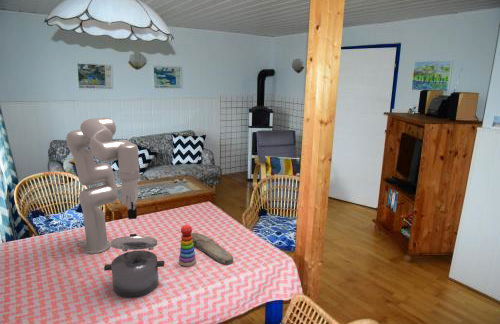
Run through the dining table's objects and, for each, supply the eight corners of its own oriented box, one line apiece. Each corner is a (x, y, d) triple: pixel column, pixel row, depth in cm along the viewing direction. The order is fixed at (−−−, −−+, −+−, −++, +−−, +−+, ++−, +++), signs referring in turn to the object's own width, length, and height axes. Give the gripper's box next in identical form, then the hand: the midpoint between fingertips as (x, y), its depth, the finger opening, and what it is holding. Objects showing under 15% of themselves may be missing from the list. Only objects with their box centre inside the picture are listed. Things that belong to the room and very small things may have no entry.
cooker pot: (101, 300, 137) (98, 273, 134) (112, 273, 156) (110, 248, 153) (163, 295, 141) (162, 269, 138) (166, 269, 160) (165, 245, 157)
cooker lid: (106, 241, 136) (107, 232, 137) (116, 250, 152) (116, 242, 154) (154, 239, 139) (154, 230, 140) (159, 248, 155) (159, 240, 156)
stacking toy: (199, 262, 165) (198, 226, 161) (185, 269, 160) (183, 231, 155) (189, 256, 171) (188, 220, 166) (175, 262, 165) (174, 225, 161)
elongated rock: (221, 271, 162) (238, 264, 168) (222, 260, 160) (239, 255, 167) (182, 239, 187) (198, 235, 193) (183, 230, 186) (199, 226, 192)
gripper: (123, 169, 145) (126, 211, 150) (115, 181, 131) (119, 226, 135) (142, 169, 146) (144, 210, 151) (136, 180, 132) (139, 225, 137)
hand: (132, 218), depth 143 cm, fingers closed
